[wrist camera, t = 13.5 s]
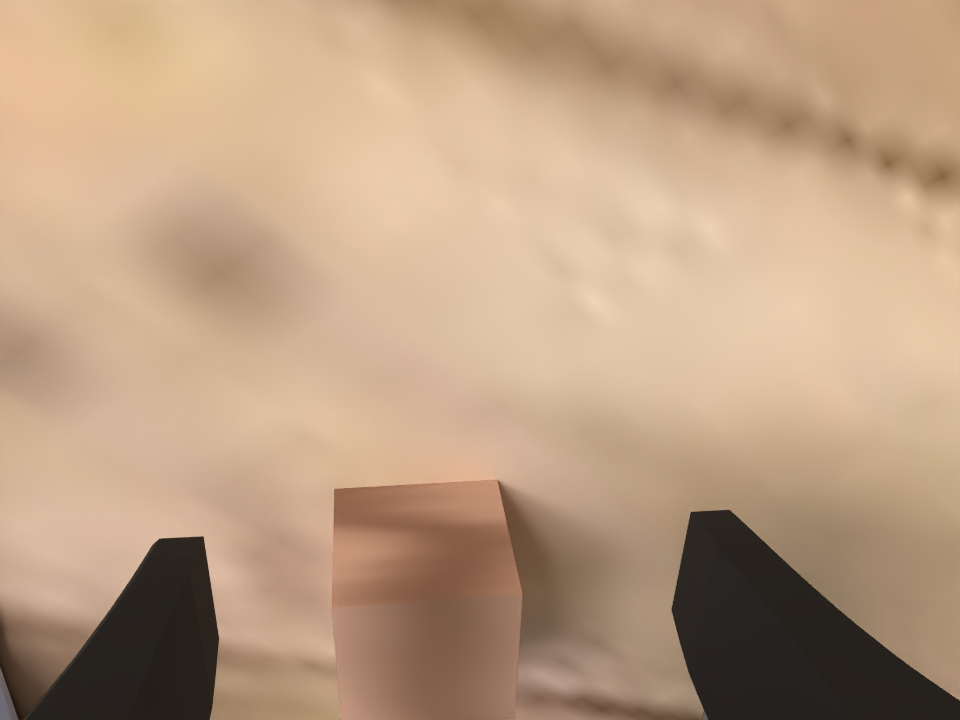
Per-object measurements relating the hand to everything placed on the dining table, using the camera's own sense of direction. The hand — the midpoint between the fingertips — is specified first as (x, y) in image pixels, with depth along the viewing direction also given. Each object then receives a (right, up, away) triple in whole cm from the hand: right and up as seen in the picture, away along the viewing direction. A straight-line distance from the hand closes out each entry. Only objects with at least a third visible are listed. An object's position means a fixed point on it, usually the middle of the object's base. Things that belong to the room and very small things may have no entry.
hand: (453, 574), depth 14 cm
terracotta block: (-1, -2, +13) cm, 13 cm away
